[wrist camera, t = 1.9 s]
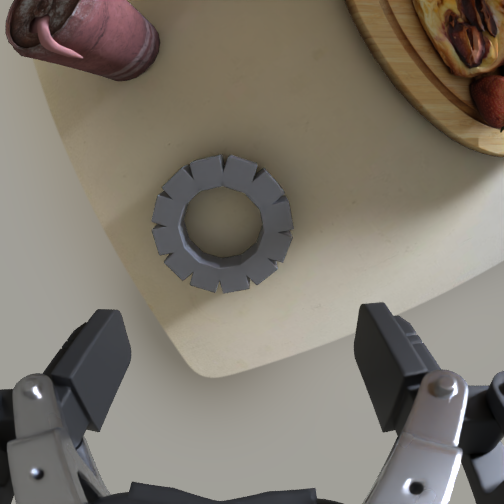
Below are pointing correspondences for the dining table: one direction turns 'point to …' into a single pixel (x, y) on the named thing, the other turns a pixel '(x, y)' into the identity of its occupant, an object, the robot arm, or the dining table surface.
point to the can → (84, 35)
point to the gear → (208, 266)
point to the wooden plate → (443, 62)
